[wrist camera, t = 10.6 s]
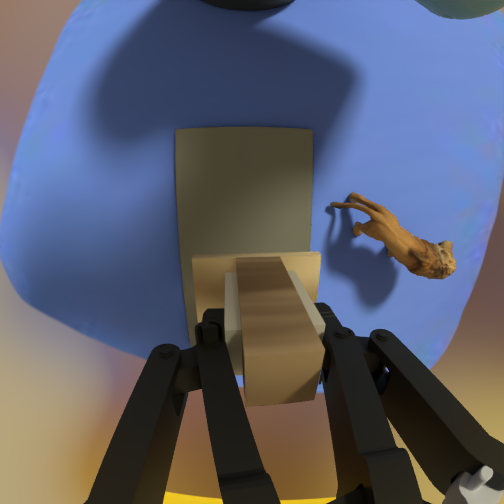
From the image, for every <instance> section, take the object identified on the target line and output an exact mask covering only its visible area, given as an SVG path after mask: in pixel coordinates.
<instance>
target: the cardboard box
mask: <svg viewBox="0 0 504 504" xmlns="http://www.w3.org/2000/svg"><path fill="white" fill-rule="evenodd" d="M320 263H321V254H320V253H319V252H318V251H317V252H279V253H240V254H201V255H193V257H192V268H193V280H194V290H195V300H196V310H197V319H198V323H200V322H202V317H203V313H204V312H205V311H206V309H207V308H225V273H226V272H237V283H238V295H239V307H240V318H241V329H242V368H243V384H244V395H245V406H246V407H249V406H264V405H276V404H285V403H294V402H303V401H310V400H314V398H315V394H316V390H317V386H318V381H319V377H320V372H321V368H322V363H323V358H324V353H325V348H324V346H323V344H322V342H321V340H320V338H319V336H318V334H317V332H316V329H315V327H314V325H313V323H312V321H311V319H310V317H309V315H308V313H307V311H306V309H305V307H304V305H303V302H302V300H301V298H300V296H299V294H298V292H297V290H296V288H295V286H294V284H293V282H292V280H291V278H290V276H289V274H288V272H287V271H289V270H294V271H295V272H296V274H297V276H298V277H299V279H300V281H301V282H302V284H303V286H304V288H305V289H306V291H307V293H308V294H309V296H310V298H311V300H312V301H313V303H316V300H317V292H318V283H319V273H320Z"/></svg>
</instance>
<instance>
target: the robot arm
mask: <svg viewBox="0 0 504 504" xmlns="http://www.w3.org/2000/svg"><path fill="white" fill-rule="evenodd" d="M202 1H204V2H206V3H208V4H211V5H214V6H217V7H221V8H226V9H232V10H244V11H253V10H265V9H271V8H275V7H279V6H282V5H285V4H287V3H289V2H291V1H293V0H202ZM415 1H416V2H418V3H419V4H421V5H422V6H423V7H425V8H426V9H428V10H429V11H430V12H432V13H434V14H436V15H438V16H441V17H444V18H450V19H454V18H455V19H472V18H477V17H481V16H484V15H487V14H490V13H492V12H495V11H497V10H499V9H500V8H502V7H504V0H415ZM287 272H288V274H289V276H290V278H291V280H292V282H293V284H294V286H295V288H296V290H297V292H298V294H299V296H300V298H301V300H302V302H303V305H304V307H305V309H306V311H307V313H308V315H309V317H310V319H311V321H312V323H313V325H314V327H315V329H316V332H317V334H318V336H319V338H320V340H321V342H322V344H323V346H324V348H325V353H324V358H323V363H322V369H321V374H320V379H319V384H321V381H322V383H323V389H324V394H325V400H326V406H327V412H328V418H329V423H330V431H331V437H332V444H333V450H334V457H335V465H336V472H337V480H338V490H337V495H336V499H335V500H333V501H331V502H329V503H327V504H431V503H429V502H426V501H424V500H422V497H421V493H420V489H419V486H418V482H417V479H416V476H415V473H414V469H413V466H412V463H411V460H410V457H409V454H408V452H407V450H405V449H404V448H398V447H397V446H396V444H395V441H394V438H393V434H392V431H391V428H390V426H389V423H388V420H387V418H388V419H389V421H390V422H391V424H392V425H393V427H394V428H395V429H396V431H397V433H398V434H399V435H400V437H401V438H402V440H403V441H404V443H405V444H406V446H407V447H408V449H409V450H410V452H411V453H412V455H413V456H414V458H415V459H416V461H417V462H418V463H419V465H420V466H421V468H422V470H423V471H424V473H425V474H426V476H427V477H428V479H429V480H430V481H431V482H432V484H433V485H434V486H435V487H436V488H437V489H438V490H439V491H440V492H441V493H442V494H444V495H445V499H444V500H443V502H442V504H498V502H499V500H500V498H501V497H502V495H503V493H504V444H503V443H502V442H500V441H498V440H496V439H495V438H493V437H491V436H490V435H489V434H488V433H487V432H486V431H485V430H484V429H483V428H482V426H481V425H480V424H479V423H478V422H477V421H476V420H475V419H474V417H473V416H472V415H471V414H470V413H469V412H468V411H467V410H466V409H465V408H464V407H463V406H462V404H461V403H460V402H459V401H458V400H457V399H456V398H455V397H454V396H453V395H452V393H451V392H450V391H449V390H448V389H447V388H446V387H445V386H444V385H443V384H442V383H441V382H440V381H439V380H438V379H437V378H436V377H435V376H434V375H433V374H432V373H431V371H430V370H429V369H428V368H427V367H426V366H425V365H424V364H423V363H422V362H421V361H420V360H419V359H418V358H417V357H416V356H415V355H414V354H413V353H412V352H411V351H410V350H409V349H408V348H407V347H406V346H405V345H404V344H403V343H402V342H401V341H400V340H399V339H398V338H397V337H396V336H395V335H394V334H393V333H391V332H390V331H388V330H385V329H376V330H373V331H372V332H371V333H370V337H359V336H355V334H354V332H353V331H352V330H351V329H349V328H346V327H343V326H342V325H341V323H340V322H339V320H338V319H337V317H336V316H335V314H334V313H333V311H332V310H331V308H330V307H329V306H328V305H326V304H325V303H323V302H322V303H313V301H312V300H311V298H310V296H309V294H308V293H307V291H306V289H305V288H304V286H303V284H302V282H301V281H300V279H299V277H298V276H297V274H296V272H295V271H294V270H289V271H287ZM194 330H195V338H196V345H195V346H193V347H191V348H189V349H185V350H180V349H179V347H177V346H176V345H173V344H162V345H158V346H157V347H155V348H154V349H153V350H152V352H151V354H150V356H149V358H148V360H147V362H146V364H145V366H144V368H143V370H142V373H141V375H140V377H139V379H138V381H137V383H136V385H135V387H134V390H133V392H132V394H131V397H130V398H129V401H128V403H127V405H126V407H125V410H124V412H123V414H122V417H121V419H120V421H119V423H118V426H117V428H116V430H115V432H114V435H113V437H112V439H111V442H110V444H109V447H108V449H107V452H106V454H105V456H104V459H103V461H102V464H101V467H100V469H99V471H98V474H97V476H96V479H95V482H94V484H93V487H92V489H91V492H90V495H89V498H88V500H87V501H86V502H85V503H84V504H163V499H164V495H165V490H166V485H167V481H168V477H169V472H170V468H171V463H172V459H173V455H174V450H175V446H176V442H177V437H178V434H179V429H180V425H181V421H182V417H183V413H184V409H185V405H186V401H187V397H188V392H190V391H194V390H198V389H202V392H203V399H204V405H205V411H206V418H207V423H208V430H209V436H210V441H211V446H212V452H213V457H214V462H215V467H216V472H217V476H218V482H219V487H220V492H221V496H222V500H223V504H281V503H280V501H279V498H278V495H277V493H276V490H275V488H274V485H273V482H272V480H271V477H270V476H269V474H268V473H266V471H265V469H264V467H263V464H262V461H261V458H260V455H259V452H258V449H257V446H256V443H255V440H254V437H253V434H252V430H251V428H250V424H249V421H248V418H247V415H246V411H245V408H244V405H243V401H242V398H241V395H240V391H239V388H238V385H237V381H236V378H235V375H243V368H242V329H241V318H240V307H239V295H238V283H237V272H226V273H225V308H207V309H206V311H205V312H204V313H203V317H202V322H200V323H198V324H197V325H196V326H195V329H194ZM386 367H387V368H388V370H389V372H387V371H386V369H385V368H386ZM386 416H387V417H386Z"/></svg>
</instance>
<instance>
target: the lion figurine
mask: <svg viewBox="0 0 504 504" xmlns="http://www.w3.org/2000/svg"><path fill="white" fill-rule="evenodd" d="M349 199H350V201H351V202H353V203H339V202H332V203H331V204H330V206H331V207H335V208H339V209H341V208H354V209H358V210H360V211H363V212H365V213H366V214H368V215H369V216H370V218H371V220H370V221H368V222H366V223H364V224H362V223H360V222H356V223H355V225H354V227H353V233H354V234H355V235H356V236H360V235H361V234H362V232H363V233H365V234H366V235H367V236H369V237H373V238H374V239H376V240H380V241H383V242H384V244H385V246H386V247H387V248H388V249H389V250H388V256H389V257H394V258H395V259H396V260H397V261H398V262H400V263H402V264H403V265H405V266H406V267H407V269H408V270H409V271H410V272H411V273H413V274H416V275H417V276H424V277H427V278H429V279H444V278H446V277H447V276H449V275H451V274H452V273H453V272H454V271H455V270H456V260H455V259H454V258H453V254H452V242H451V241H447V240H445V241H443V242H442V243H438V245H437V244H433V243H429V242H428V241H426V240H423V239H419V238H418V237H416V236H413V235H412V234H411V233H410V232H408V231H407V230H405V229H404V228H402V227H400V225H399V222H398V220H397V218H396V217H395V215H393V214H392V213H391V212H390V211H388V210H387V209H386V208H385V207H384V206H381V205H378V204H376V203H374V202H372V201H369V200H368V199H366V198H364V197H363V196H362V195H358V194H356V193H354V192H352V193H351V194H350V196H349ZM357 202H358V203H361V204H363V205H365V206H363V205H360V204H357ZM366 206H367V207H366Z"/></svg>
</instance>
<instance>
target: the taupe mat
mask: <svg viewBox="0 0 504 504" xmlns="http://www.w3.org/2000/svg"><path fill="white" fill-rule="evenodd" d="M175 160H176V196H177V217H178V234H179V248H180V260H181V271H182V282H183V291H184V300H185V309H186V317H187V325H188V332H189V340H190V346H195V345H196V338H195V330H194V329H195V326H196V325H197V324H198V319H197V310H196V300H195V290H194V280H193V268H192V257H193V255H201V254H240V253H279V252H310V238H311V217H312V187H313V130H311V129H298V128H279V127H205V128H187V129H175Z"/></svg>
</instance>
